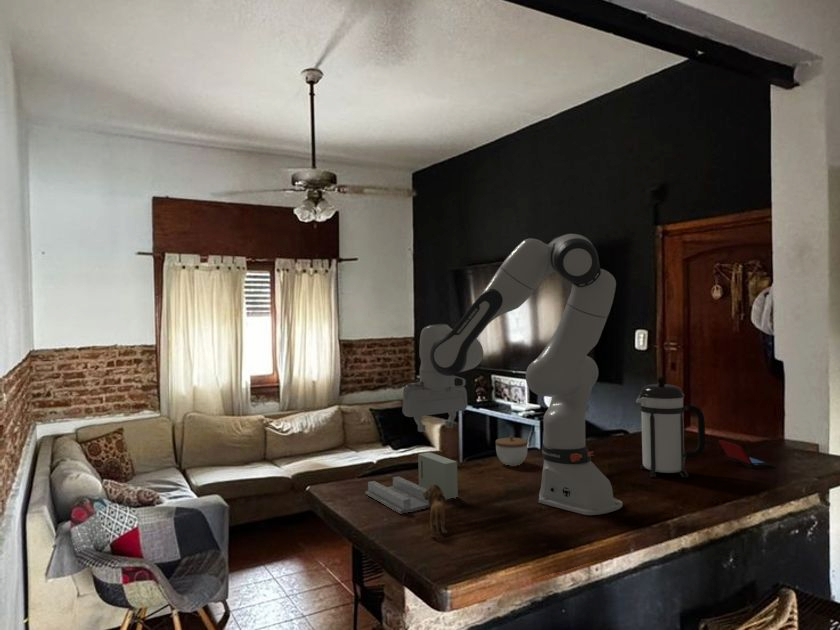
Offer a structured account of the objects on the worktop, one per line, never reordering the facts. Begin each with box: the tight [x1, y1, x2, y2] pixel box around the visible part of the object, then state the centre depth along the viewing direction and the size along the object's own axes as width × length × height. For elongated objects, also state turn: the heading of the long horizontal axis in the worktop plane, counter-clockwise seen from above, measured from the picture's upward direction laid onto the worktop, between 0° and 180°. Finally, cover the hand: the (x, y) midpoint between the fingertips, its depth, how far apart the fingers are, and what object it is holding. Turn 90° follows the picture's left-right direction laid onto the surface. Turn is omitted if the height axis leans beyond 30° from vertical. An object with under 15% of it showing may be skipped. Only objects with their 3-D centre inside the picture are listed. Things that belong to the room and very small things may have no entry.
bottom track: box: [364, 476, 430, 515], centre depth 159 cm, size 20×12×4 cm, turn 32°
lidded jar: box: [495, 435, 529, 467], centre depth 196 cm, size 11×11×9 cm
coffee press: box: [635, 376, 706, 479], centre depth 181 cm, size 17×16×30 cm
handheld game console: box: [718, 438, 773, 469], centre depth 190 cm, size 12×11×7 cm
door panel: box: [417, 451, 459, 500], centre depth 166 cm, size 14×4×10 cm, turn 32°
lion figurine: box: [422, 484, 448, 539], centre depth 137 cm, size 15×5×9 cm, turn 8°
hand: (435, 429), depth 166 cm, fingers open, 8 cm apart
